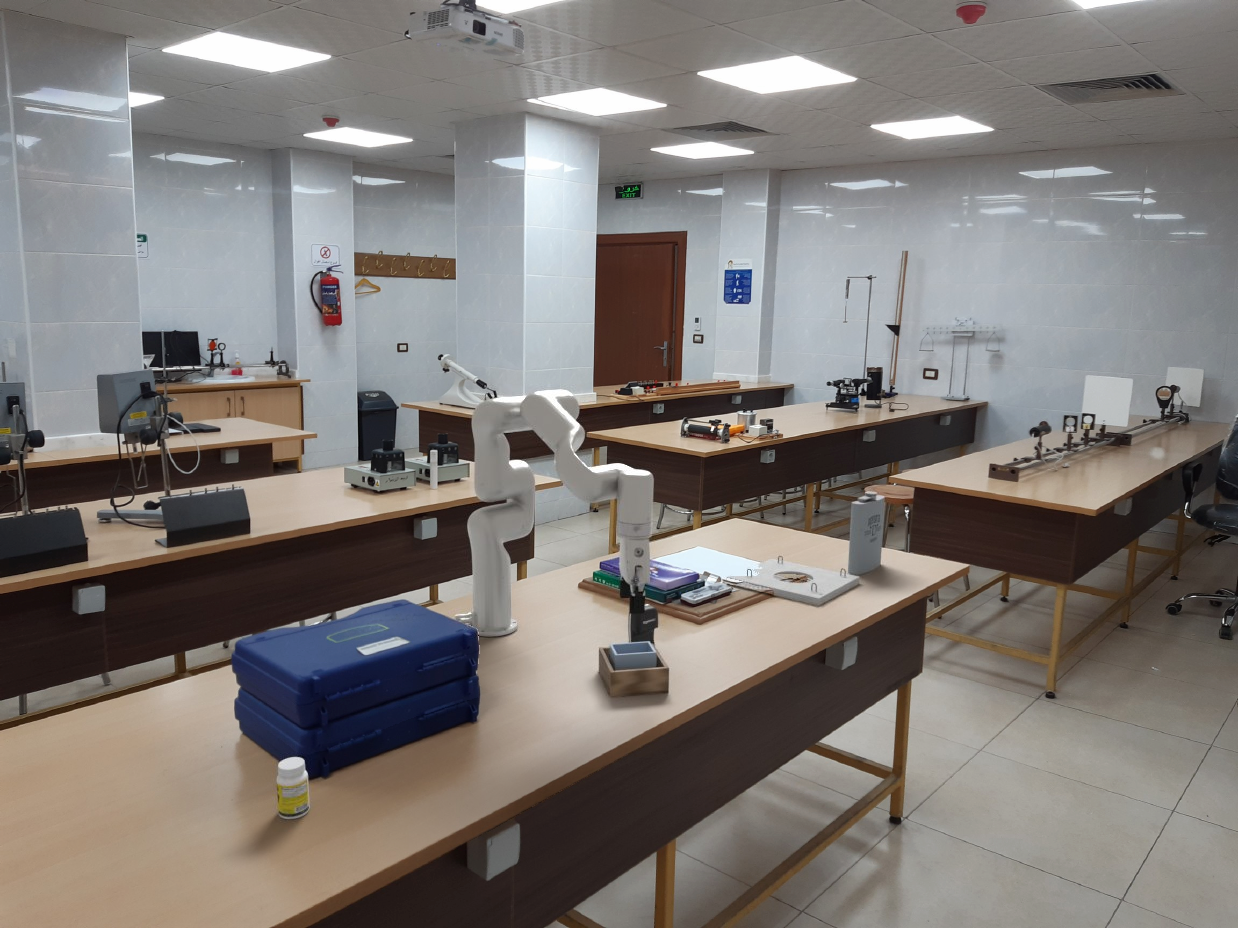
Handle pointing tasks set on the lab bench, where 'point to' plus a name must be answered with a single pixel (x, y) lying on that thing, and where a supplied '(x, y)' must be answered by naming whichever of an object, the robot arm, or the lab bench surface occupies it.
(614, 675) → the open wooden box
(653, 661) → the box
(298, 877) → the lab bench surface
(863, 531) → the flask
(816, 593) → the mounting panel
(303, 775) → the supplement bottle
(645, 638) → the black upright device
